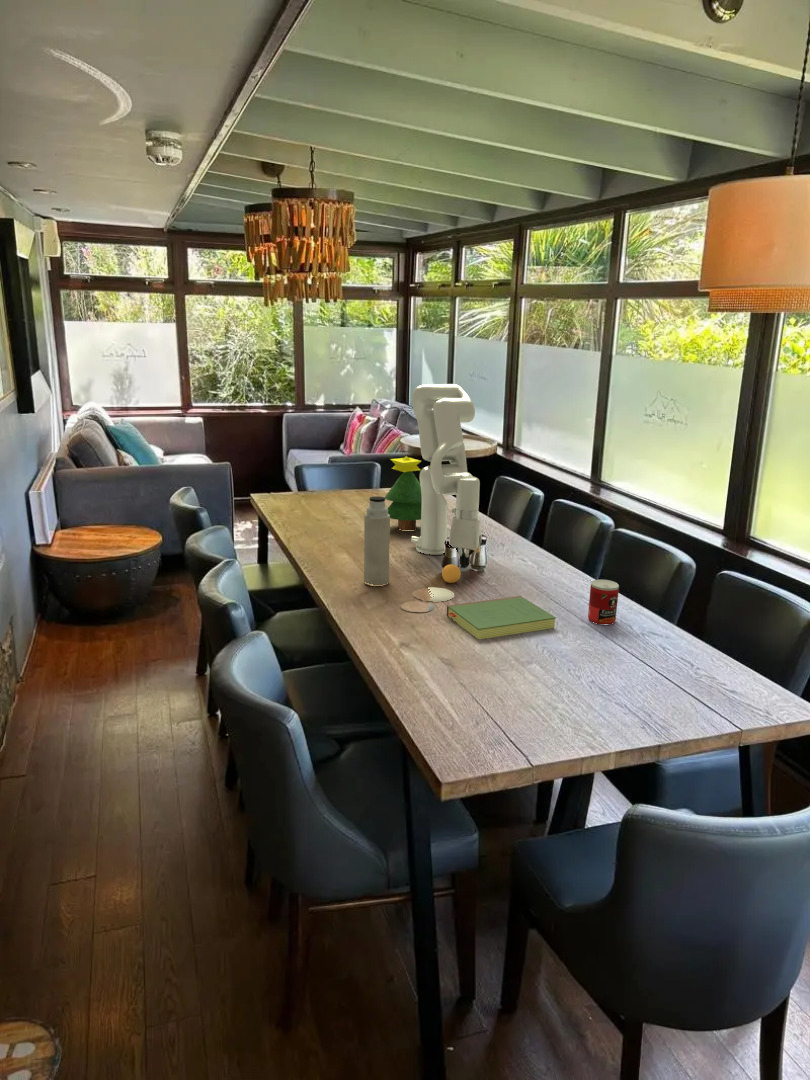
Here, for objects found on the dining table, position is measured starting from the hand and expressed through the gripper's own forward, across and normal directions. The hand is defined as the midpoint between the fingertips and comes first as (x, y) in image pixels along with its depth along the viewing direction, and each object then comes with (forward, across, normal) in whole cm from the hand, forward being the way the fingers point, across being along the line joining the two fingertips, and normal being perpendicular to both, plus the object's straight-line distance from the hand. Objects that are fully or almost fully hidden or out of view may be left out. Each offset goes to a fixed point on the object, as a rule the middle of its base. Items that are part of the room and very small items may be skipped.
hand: (464, 566), depth 262 cm
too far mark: (+2, +1, -39) cm, 39 cm away
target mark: (+2, +1, -27) cm, 27 cm away
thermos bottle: (+2, -20, -26) cm, 33 cm away
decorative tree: (+2, -42, +39) cm, 57 cm away
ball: (-2, +1, -13) cm, 13 cm away
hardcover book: (+2, +26, -38) cm, 46 cm away
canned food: (+2, +52, -22) cm, 56 cm away
